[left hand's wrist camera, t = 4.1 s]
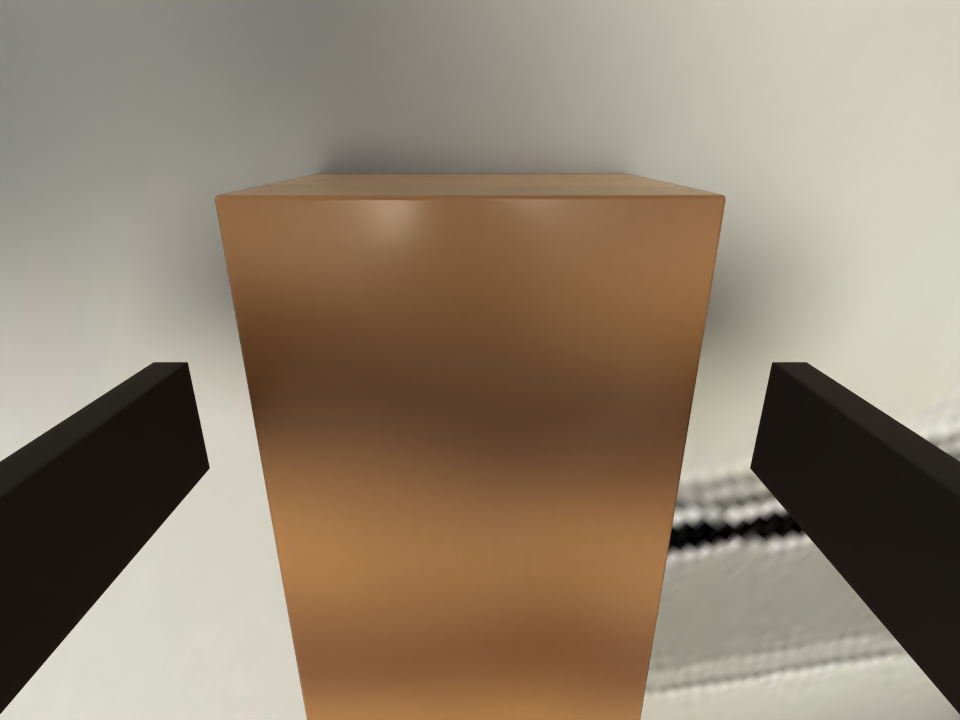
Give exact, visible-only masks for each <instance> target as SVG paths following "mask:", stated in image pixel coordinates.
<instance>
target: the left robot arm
mask: <svg viewBox="0 0 960 720" xmlns="http://www.w3.org/2000/svg"><path fill="white" fill-rule="evenodd" d="M209 468H210V467H209V462H208V457H207V453H206V448H205V443H204V438H203V434H202V429H201V424H200V419H199V414H198V410H197V405H196V400H195V395H194V390H193V386H192V381H191V376H190V371H189V366H188V362H153V363H152V364H150V365H149V366H147V367H146V368H144V369H143V370H141V371H140V372H138V373H136V374H135V375H133V376H132V377H130V378H129V379H127V380H126V381H124V382H123V383H121V384H119V385H118V386H116V387H115V388H113V389H112V390H110V391H109V392H107V393H106V394H104V395H102V396H101V397H99V398H98V399H96V400H95V401H93V402H92V403H90V404H89V405H87V406H86V407H84V408H82V409H81V410H79V411H78V412H76V413H75V414H73V415H72V416H70V417H69V418H67V419H65V420H64V421H62V422H61V423H59V424H58V425H56V426H55V427H53V428H52V429H50V430H48V431H47V432H45V433H44V434H42V435H41V436H39V437H38V438H36V439H35V440H33V441H32V442H30V443H28V444H27V445H25V446H24V447H22V448H21V449H19V450H18V451H16V452H15V453H13V454H11V455H10V456H8V457H7V458H5V459H4V460H2V461H1V462H0V714H1V713H2V711H3V710H4V709H5V708H6V707H7V706H8V704H9V703H10V702H11V701H12V700H13V699H14V697H15V696H16V695H17V694H18V693H19V692H20V690H21V689H22V688H23V687H24V686H25V684H26V683H27V682H28V681H29V680H30V679H31V677H32V676H33V675H34V674H35V673H36V672H37V670H38V669H39V668H40V667H41V666H42V665H43V663H44V662H45V661H46V660H47V659H48V657H49V656H50V655H51V654H52V653H53V652H54V650H55V649H56V648H57V647H58V646H59V645H60V643H61V642H62V641H63V640H64V639H65V637H66V636H67V635H68V634H69V633H70V632H71V630H72V629H73V628H74V627H75V626H76V625H77V623H78V622H79V621H80V620H81V619H82V618H83V616H84V615H85V614H86V613H87V612H88V610H89V609H90V608H91V607H92V606H93V605H94V603H95V602H96V601H97V600H98V599H99V598H100V596H101V595H102V594H103V593H104V592H105V591H106V589H107V588H108V587H109V586H110V585H111V583H112V582H113V581H114V580H115V579H116V578H117V576H118V575H119V574H120V573H121V572H122V571H123V569H124V568H125V567H126V566H127V565H128V564H129V562H130V561H131V560H132V559H133V558H134V556H135V555H136V554H137V553H138V552H139V551H140V549H141V548H142V547H143V546H144V545H145V544H146V542H147V541H148V540H149V539H150V538H151V537H152V535H153V534H154V533H155V532H156V531H157V529H158V528H159V527H160V526H161V525H162V524H163V522H164V521H165V520H166V519H167V518H168V517H169V515H170V514H171V513H172V512H173V511H174V510H175V508H176V507H177V506H178V505H179V504H180V502H181V501H182V500H183V499H184V498H185V497H186V495H187V494H188V493H189V492H190V491H191V490H192V488H193V487H194V486H195V485H196V484H197V483H198V481H199V480H200V479H201V478H202V477H203V475H204V474H205V473H206V472H207V471H208V470H209ZM750 468H751V470H752V471H753V472H754V473H755V474H756V475H757V477H758V478H759V479H760V480H761V481H762V483H763V484H764V485H765V486H766V487H767V488H768V490H769V491H770V492H771V493H772V494H773V495H774V497H775V498H776V499H777V500H778V501H779V502H780V504H781V505H782V506H783V507H784V508H785V510H786V511H787V512H788V513H789V514H790V515H791V517H792V518H793V519H794V520H795V521H796V522H797V524H798V525H799V526H800V527H801V528H802V529H803V531H804V532H805V533H806V534H807V535H808V537H809V538H810V539H811V540H812V541H813V542H814V544H815V545H816V546H817V547H818V548H819V549H820V551H821V552H822V553H823V554H824V555H825V556H826V558H827V559H828V560H829V561H830V562H831V564H832V565H833V566H834V567H835V568H836V569H837V571H838V572H839V573H840V574H841V575H842V576H843V578H844V579H845V580H846V581H847V582H848V583H849V585H850V586H851V587H852V588H853V589H854V591H855V592H856V593H857V594H858V595H859V596H860V598H861V599H862V600H863V601H864V602H865V603H866V605H867V606H868V607H869V608H870V609H871V610H872V612H873V613H874V614H875V615H876V616H877V618H878V619H879V620H880V621H881V622H882V623H883V625H884V626H885V627H886V628H887V629H888V630H889V632H890V633H891V634H892V635H893V636H894V638H895V639H896V640H897V641H898V642H899V643H900V645H901V646H902V647H903V648H904V649H905V650H906V652H907V653H908V654H909V655H910V656H911V657H912V659H913V660H914V661H915V662H916V663H917V665H918V666H919V667H920V668H921V669H922V670H923V672H924V673H925V674H926V675H927V676H928V677H929V679H930V680H931V681H932V682H933V683H934V684H935V686H936V687H937V688H938V689H939V690H940V692H941V693H942V694H943V695H944V696H945V697H946V699H947V700H948V701H949V702H950V703H951V704H952V706H953V707H954V708H955V709H956V710H957V711H958V713H959V714H960V462H959V461H958V460H956V459H955V458H953V457H952V456H950V455H949V454H947V453H945V452H944V451H942V450H941V449H939V448H938V447H936V446H935V445H933V444H932V443H930V442H928V441H927V440H925V439H924V438H922V437H921V436H919V435H918V434H916V433H915V432H913V431H912V430H910V429H908V428H907V427H905V426H904V425H902V424H901V423H899V422H898V421H896V420H895V419H893V418H891V417H890V416H888V415H887V414H885V413H884V412H882V411H881V410H879V409H878V408H876V407H874V406H873V405H871V404H870V403H868V402H867V401H865V400H864V399H862V398H861V397H859V396H858V395H856V394H854V393H853V392H851V391H850V390H848V389H847V388H845V387H844V386H842V385H841V384H839V383H837V382H836V381H834V380H833V379H831V378H830V377H828V376H827V375H825V374H824V373H822V372H820V371H819V370H817V369H816V368H814V367H813V366H811V365H810V364H808V363H807V362H772V366H771V371H770V376H769V381H768V386H767V390H766V395H765V400H764V405H763V410H762V414H761V419H760V424H759V429H758V434H757V438H756V443H755V448H754V453H753V457H752V462H751V467H750Z"/></svg>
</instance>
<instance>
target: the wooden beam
mask: <svg viewBox="0 0 960 720" xmlns="http://www.w3.org/2000/svg"><path fill="white" fill-rule="evenodd" d="M215 202H216V208H217V214H218V219H219V225H220V231H221V236H222V242H223V248H224V253H225V259H226V264H227V270H228V276H229V281H230V287H231V293H232V298H233V304H234V310H235V315H236V321H237V327H238V332H239V338H240V344H241V349H242V355H243V361H244V366H245V372H246V378H247V383H248V389H249V394H250V400H251V406H252V411H253V417H254V423H255V428H256V434H257V440H258V445H259V451H260V457H261V462H262V468H263V474H264V479H265V485H266V491H267V496H268V502H269V508H270V513H271V519H272V524H273V530H274V536H275V541H276V547H277V553H278V558H279V564H280V570H281V575H282V581H283V587H284V592H285V598H286V604H287V609H288V615H289V621H290V626H291V632H292V637H293V643H294V649H295V654H296V660H297V666H298V671H299V677H300V683H301V688H302V694H303V700H304V705H305V711H306V717H307V720H640V718H641V712H642V705H643V699H644V693H645V687H646V681H647V675H648V669H649V663H650V657H651V651H652V645H653V638H654V632H655V626H656V620H657V614H658V608H659V602H660V596H661V590H662V584H663V578H664V571H665V565H666V559H667V553H668V547H669V541H670V535H671V529H672V523H673V517H674V510H675V504H676V498H677V492H678V486H679V480H680V474H681V468H682V462H683V456H684V450H685V443H686V437H687V431H688V425H689V419H690V413H691V407H692V401H693V395H694V389H695V383H696V376H697V370H698V364H699V358H700V352H701V346H702V340H703V334H704V328H705V322H706V315H707V309H708V303H709V297H710V291H711V285H712V279H713V273H714V267H715V261H716V255H717V248H718V242H719V236H720V230H721V224H722V218H723V212H724V206H725V196H723V195H721V194H716V193H712V192H707V191H703V190H698V189H694V188H689V187H685V186H680V185H676V184H671V183H667V182H662V181H658V180H653V179H649V178H644V177H640V176H635V175H631V174H315V175H310V176H305V177H301V178H296V179H291V180H287V181H282V182H277V183H273V184H268V185H263V186H259V187H254V188H249V189H245V190H240V191H235V192H230V193H226V194H221V195H218V196H216V198H215Z"/></svg>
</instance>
